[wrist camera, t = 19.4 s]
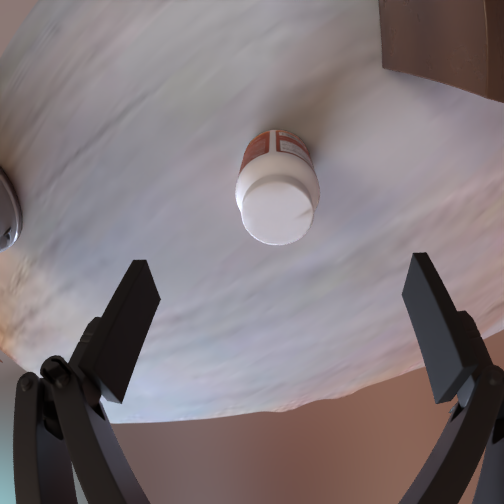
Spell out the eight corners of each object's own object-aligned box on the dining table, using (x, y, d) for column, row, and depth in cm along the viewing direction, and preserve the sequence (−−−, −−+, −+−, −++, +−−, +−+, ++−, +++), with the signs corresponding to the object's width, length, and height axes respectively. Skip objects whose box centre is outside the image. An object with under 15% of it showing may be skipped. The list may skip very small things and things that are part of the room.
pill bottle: (250, 191, 31) (238, 259, 22) (238, 133, 27) (218, 178, 18) (312, 184, 30) (328, 250, 21) (305, 124, 26) (322, 165, 17)
